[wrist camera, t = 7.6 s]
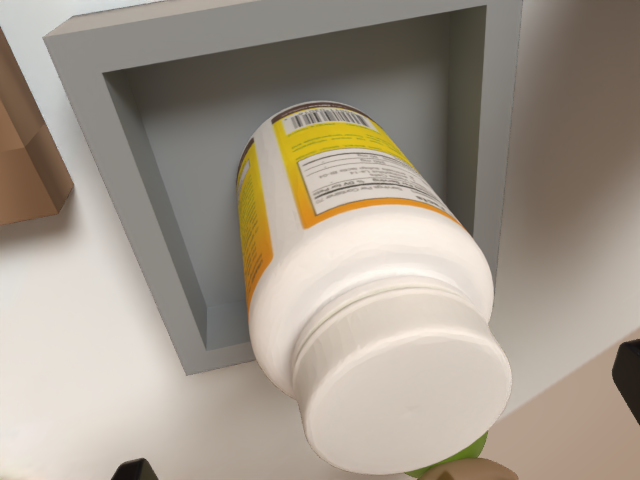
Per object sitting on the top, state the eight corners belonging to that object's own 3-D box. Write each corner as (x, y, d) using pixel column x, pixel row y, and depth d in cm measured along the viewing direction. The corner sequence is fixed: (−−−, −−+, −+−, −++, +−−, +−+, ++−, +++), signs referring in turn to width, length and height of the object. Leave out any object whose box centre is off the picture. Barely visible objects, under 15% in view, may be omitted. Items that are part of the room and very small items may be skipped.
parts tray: (475, -52, 15) (527, -46, 12) (461, 262, 22) (493, 306, 19) (73, 16, 14) (42, 37, 11) (190, 321, 21) (186, 375, 18)
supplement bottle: (299, 264, 19) (363, 531, 11) (200, 163, 16) (185, 423, 8) (418, 181, 18) (593, 407, 10) (336, 57, 15) (485, 228, 7)
